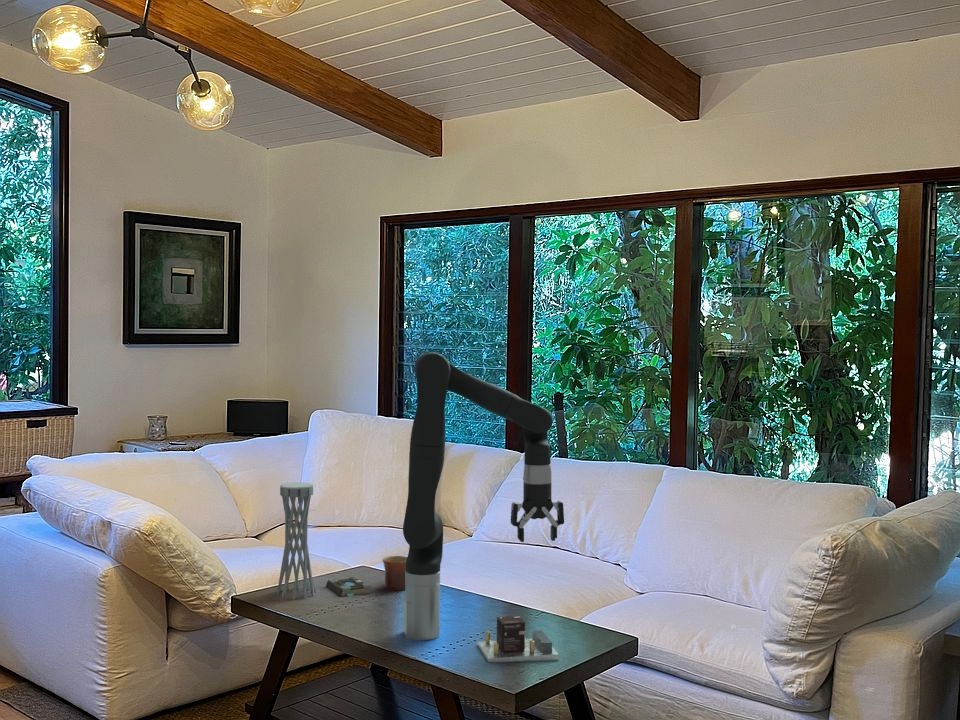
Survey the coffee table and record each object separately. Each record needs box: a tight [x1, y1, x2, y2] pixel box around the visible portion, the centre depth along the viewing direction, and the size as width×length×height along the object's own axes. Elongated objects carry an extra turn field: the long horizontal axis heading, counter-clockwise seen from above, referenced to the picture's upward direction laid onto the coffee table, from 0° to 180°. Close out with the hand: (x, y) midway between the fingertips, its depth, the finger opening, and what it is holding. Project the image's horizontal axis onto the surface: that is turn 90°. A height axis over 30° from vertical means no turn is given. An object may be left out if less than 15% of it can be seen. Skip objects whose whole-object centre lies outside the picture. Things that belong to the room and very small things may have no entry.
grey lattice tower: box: [275, 481, 317, 600], centre depth 290 cm, size 14×13×35 cm
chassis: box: [476, 630, 560, 663], centre depth 245 cm, size 18×13×4 cm
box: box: [496, 615, 526, 652], centre depth 245 cm, size 6×6×7 cm
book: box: [325, 575, 373, 597], centre depth 296 cm, size 20×12×5 cm, turn 30°
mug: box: [382, 555, 408, 592], centre depth 303 cm, size 12×9×10 cm
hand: (537, 540), depth 259 cm, fingers open, 8 cm apart
